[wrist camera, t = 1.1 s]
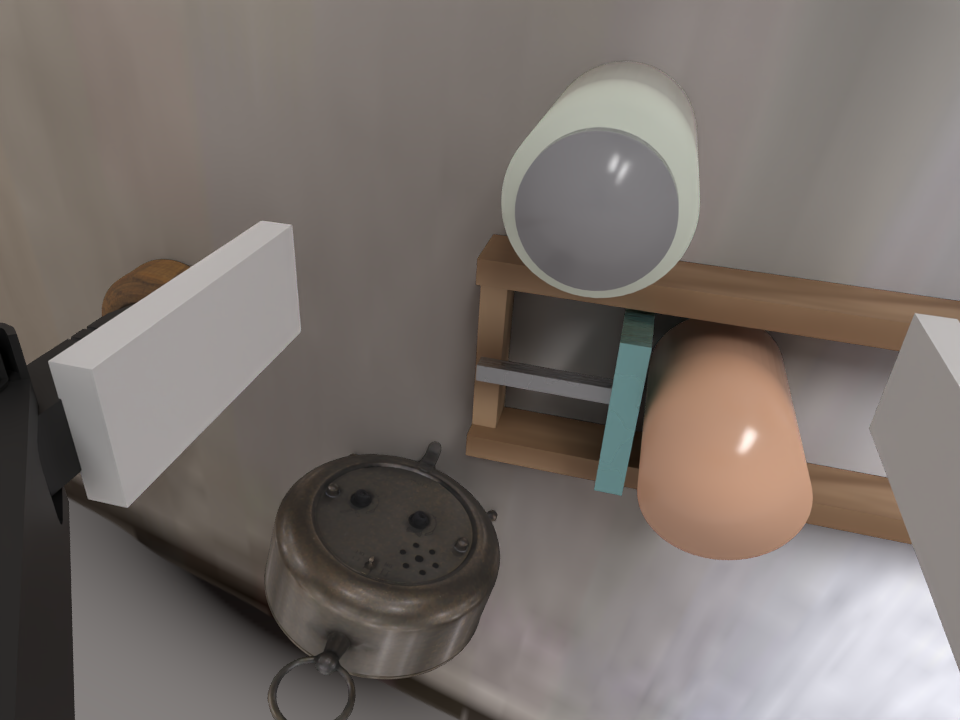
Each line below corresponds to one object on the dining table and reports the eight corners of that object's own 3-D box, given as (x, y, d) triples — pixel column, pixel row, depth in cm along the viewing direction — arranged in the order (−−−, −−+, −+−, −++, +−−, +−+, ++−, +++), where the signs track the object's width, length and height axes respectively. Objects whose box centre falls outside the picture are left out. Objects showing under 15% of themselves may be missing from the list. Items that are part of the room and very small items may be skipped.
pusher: (497, 270, 33) (469, 317, 29) (656, 294, 32) (651, 347, 28) (487, 404, 37) (461, 463, 33) (629, 430, 36) (621, 495, 32)
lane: (493, 234, 33) (477, 258, 31) (1229, 339, 28) (1283, 379, 25) (480, 420, 38) (465, 454, 36) (1097, 538, 33) (1130, 588, 31)
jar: (555, 53, 29) (503, 100, 21) (711, 68, 28) (721, 124, 20) (540, 201, 32) (489, 292, 24) (680, 220, 31) (678, 322, 23)
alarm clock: (329, 468, 43) (161, 716, 29) (344, 397, 40) (166, 635, 26) (503, 537, 42) (415, 824, 28) (532, 470, 39) (449, 753, 26)
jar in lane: (661, 304, 33) (652, 413, 25) (800, 326, 32) (835, 447, 24) (638, 414, 36) (625, 540, 28) (765, 437, 35) (786, 575, 27)
